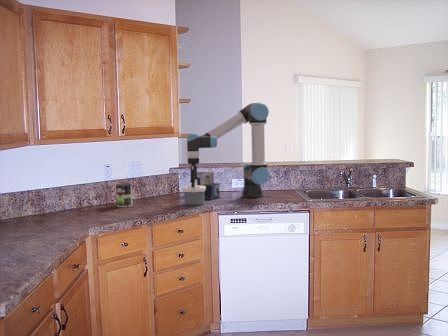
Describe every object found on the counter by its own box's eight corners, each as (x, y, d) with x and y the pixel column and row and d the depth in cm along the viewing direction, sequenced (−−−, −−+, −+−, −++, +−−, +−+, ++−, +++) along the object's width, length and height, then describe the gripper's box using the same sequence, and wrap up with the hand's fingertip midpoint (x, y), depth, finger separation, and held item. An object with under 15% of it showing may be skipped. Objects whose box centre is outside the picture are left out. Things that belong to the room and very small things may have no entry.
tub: (204, 202, 319) (204, 189, 318) (203, 204, 311) (203, 191, 310) (186, 203, 319) (185, 189, 318) (185, 205, 311) (184, 191, 310)
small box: (211, 200, 328) (210, 184, 327) (203, 199, 332) (203, 184, 331) (220, 197, 336) (220, 183, 335) (213, 197, 340) (212, 182, 339)
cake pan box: (193, 193, 358) (192, 170, 356) (198, 193, 361) (197, 169, 359) (210, 196, 344) (209, 171, 342) (215, 195, 347) (214, 171, 345)
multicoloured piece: (127, 207, 309) (126, 185, 308) (113, 206, 313) (112, 185, 311) (135, 204, 319) (134, 183, 317) (122, 204, 322) (121, 183, 321)
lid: (205, 188, 320) (205, 184, 319) (204, 191, 308) (204, 187, 307) (184, 189, 320) (184, 185, 320) (182, 192, 308) (182, 187, 308)
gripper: (189, 156, 324) (190, 188, 326) (185, 159, 300) (186, 193, 302) (200, 156, 324) (201, 187, 326) (197, 159, 299) (198, 193, 302)
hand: (194, 190), depth 314 cm, fingers closed on lid, 12 cm apart
